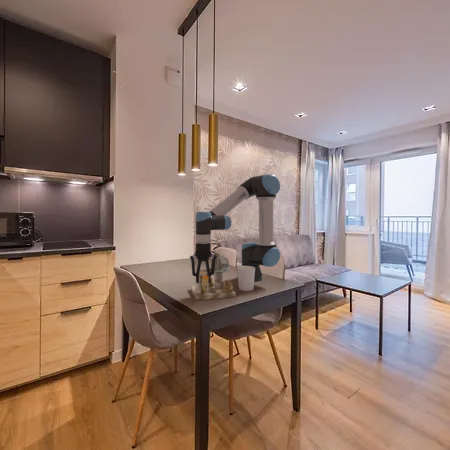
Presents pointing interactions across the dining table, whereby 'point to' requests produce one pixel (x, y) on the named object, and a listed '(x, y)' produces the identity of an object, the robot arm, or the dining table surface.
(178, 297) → the dining table surface
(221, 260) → the ceramic cottage
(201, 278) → the wing knob
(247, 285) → the candle holder
